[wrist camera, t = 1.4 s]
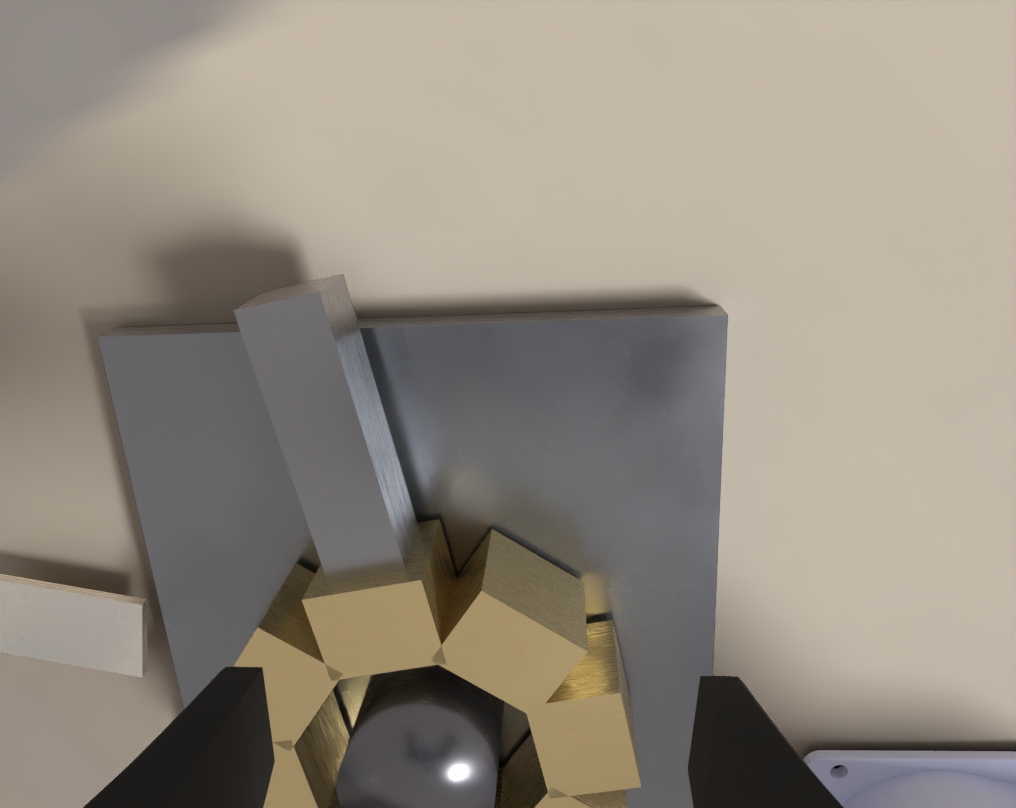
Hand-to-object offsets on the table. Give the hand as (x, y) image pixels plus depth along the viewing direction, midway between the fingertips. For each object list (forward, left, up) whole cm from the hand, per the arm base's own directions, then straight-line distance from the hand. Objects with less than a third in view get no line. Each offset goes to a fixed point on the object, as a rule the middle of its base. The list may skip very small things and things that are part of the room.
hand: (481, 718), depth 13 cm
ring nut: (+3, +3, -9) cm, 10 cm away
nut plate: (+5, +6, -10) cm, 13 cm away
